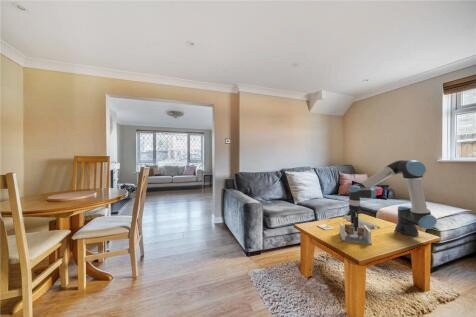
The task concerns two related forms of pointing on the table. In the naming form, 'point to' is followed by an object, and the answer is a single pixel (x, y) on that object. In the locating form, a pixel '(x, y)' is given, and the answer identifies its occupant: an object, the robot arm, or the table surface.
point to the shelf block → (350, 229)
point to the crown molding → (362, 222)
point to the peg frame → (356, 236)
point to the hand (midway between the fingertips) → (354, 232)
